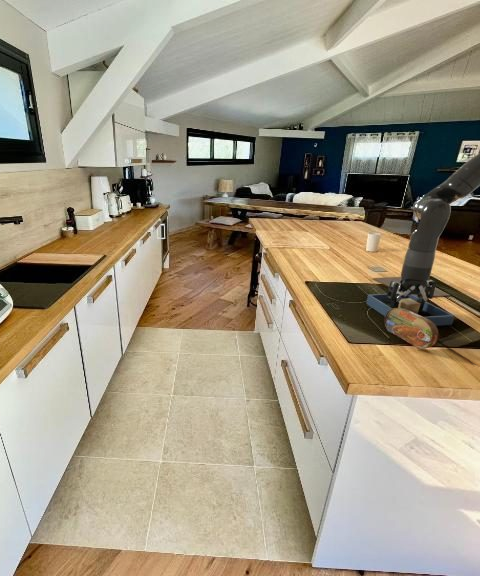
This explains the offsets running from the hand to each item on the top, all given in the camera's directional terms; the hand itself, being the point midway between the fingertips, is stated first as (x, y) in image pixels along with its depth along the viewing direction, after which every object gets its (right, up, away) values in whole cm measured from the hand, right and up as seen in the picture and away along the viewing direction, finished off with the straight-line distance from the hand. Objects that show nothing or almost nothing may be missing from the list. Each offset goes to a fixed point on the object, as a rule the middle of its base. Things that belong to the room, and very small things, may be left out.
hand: (406, 310), depth 103 cm
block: (0, -1, 0) cm, 1 cm away
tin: (-10, -8, -14) cm, 19 cm away
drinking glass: (-18, +18, +55) cm, 60 cm away
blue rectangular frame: (0, -2, +1) cm, 2 cm away
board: (+16, +7, +22) cm, 29 cm away
